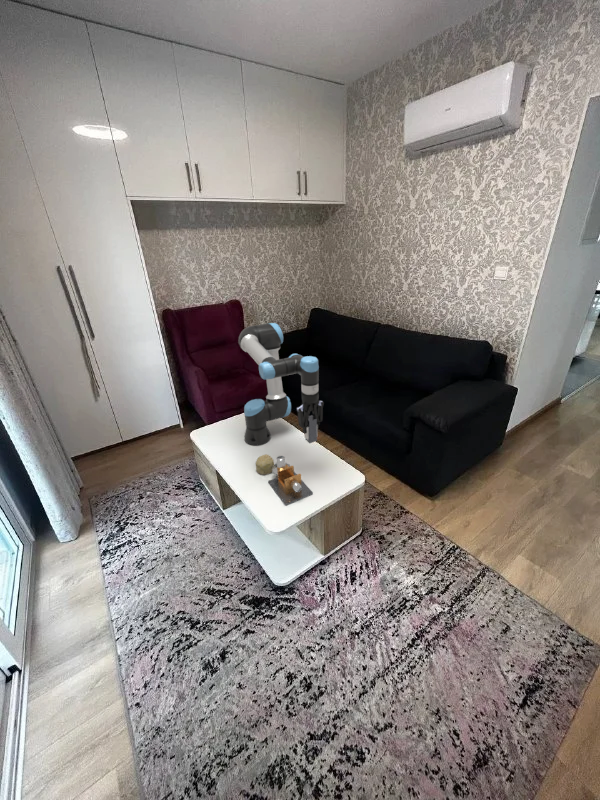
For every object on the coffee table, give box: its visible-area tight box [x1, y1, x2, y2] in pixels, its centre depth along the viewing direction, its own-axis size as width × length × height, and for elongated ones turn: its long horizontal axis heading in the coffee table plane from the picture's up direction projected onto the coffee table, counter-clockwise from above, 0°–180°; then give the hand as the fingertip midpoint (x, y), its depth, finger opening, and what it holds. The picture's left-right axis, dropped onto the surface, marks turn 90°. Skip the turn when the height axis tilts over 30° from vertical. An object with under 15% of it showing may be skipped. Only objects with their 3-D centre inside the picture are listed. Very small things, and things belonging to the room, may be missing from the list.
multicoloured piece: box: [267, 455, 314, 507], centre depth 152 cm, size 22×14×12 cm, turn 29°
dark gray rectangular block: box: [304, 414, 318, 444], centre depth 153 cm, size 4×4×12 cm
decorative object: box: [255, 454, 275, 476], centre depth 165 cm, size 9×10×10 cm
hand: (310, 436), depth 155 cm, fingers closed on dark gray rectangular block, 4 cm apart
